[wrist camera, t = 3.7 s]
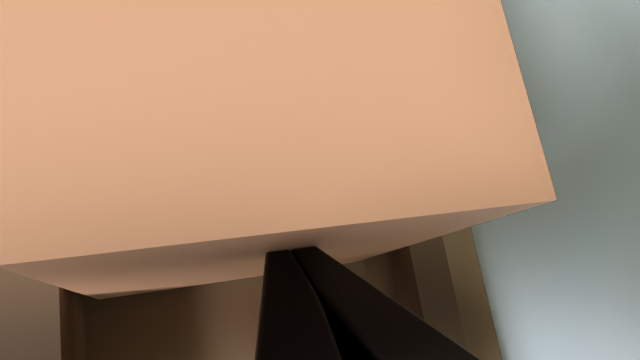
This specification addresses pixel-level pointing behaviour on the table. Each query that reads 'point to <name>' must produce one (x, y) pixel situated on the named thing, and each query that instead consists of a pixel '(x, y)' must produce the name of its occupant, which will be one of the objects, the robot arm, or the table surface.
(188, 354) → the tray
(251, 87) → the slider block
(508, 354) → the table surface
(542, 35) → the table surface
